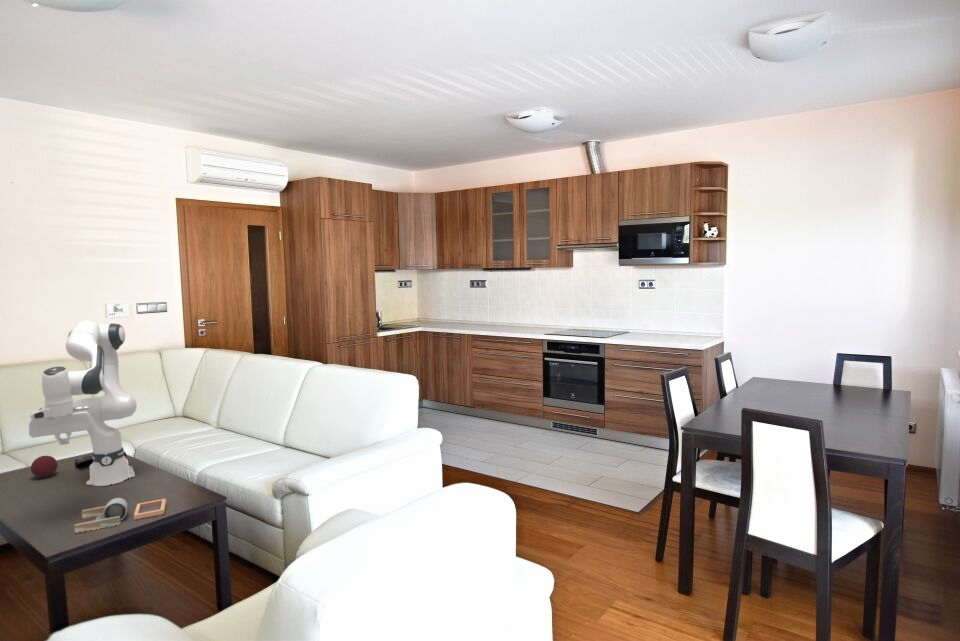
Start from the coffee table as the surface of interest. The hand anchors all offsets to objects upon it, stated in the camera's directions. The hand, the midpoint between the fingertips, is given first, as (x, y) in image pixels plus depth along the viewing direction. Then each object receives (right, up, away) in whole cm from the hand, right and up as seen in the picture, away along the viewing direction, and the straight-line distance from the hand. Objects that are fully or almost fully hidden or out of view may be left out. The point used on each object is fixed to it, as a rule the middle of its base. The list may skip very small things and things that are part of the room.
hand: (64, 444), depth 220 cm
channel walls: (+16, -29, -3) cm, 33 cm away
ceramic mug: (+20, -29, -2) cm, 35 cm away
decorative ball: (-43, -26, +46) cm, 68 cm away
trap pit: (+31, -28, +4) cm, 42 cm away
